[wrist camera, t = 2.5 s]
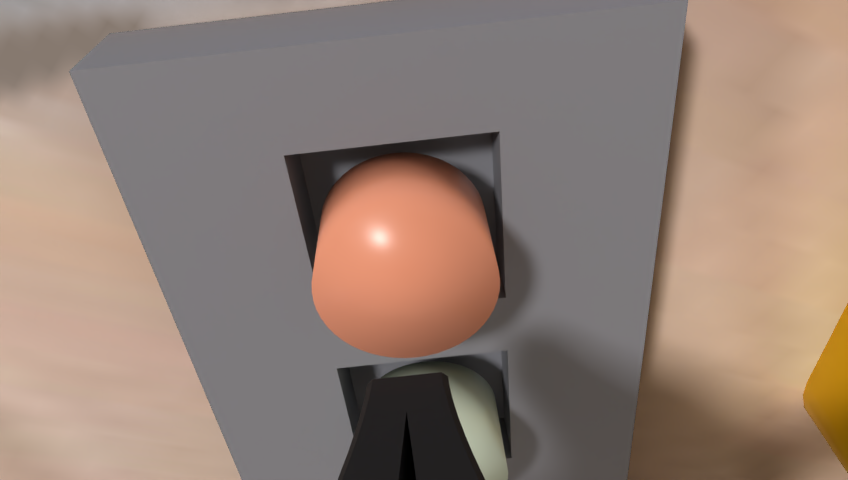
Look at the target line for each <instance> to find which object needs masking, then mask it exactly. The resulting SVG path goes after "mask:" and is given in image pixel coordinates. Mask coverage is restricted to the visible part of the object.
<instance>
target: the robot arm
mask: <svg viewBox="0 0 848 480" xmlns="http://www.w3.org/2000/svg"><path fill="white" fill-rule="evenodd" d="M338 480H485V478H484V476H483V474H482V472H481V470H480V467H479V465H478V463H477V461H476V459H475V457H474V455H473V452H472V450H471V448H470V445H469V443H468V441H467V438H466V436H465V433H464V430H463V428H462V425H461V423H460V420H459V417H458V414H457V411H456V408H455V405H454V401H453V398H452V394H451V390H450V385H449V379H448V376H447V375H445V374H444V373H442V372H437V373H428V374H418V375H409V376H399V377H389V378H380V379H372V380H371V381H370V382H369V383H368V384H367V388H366V393H365V398H364V402H363V406H362V410H361V413H360V417H359V420H358V423H357V427H356V430H355V433H354V436H353V439H352V442H351V445H350V448H349V451H348V454H347V456H346V459H345V461H344V464H343V467H342V469H341V472H340V475H339V477H338Z"/></svg>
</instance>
